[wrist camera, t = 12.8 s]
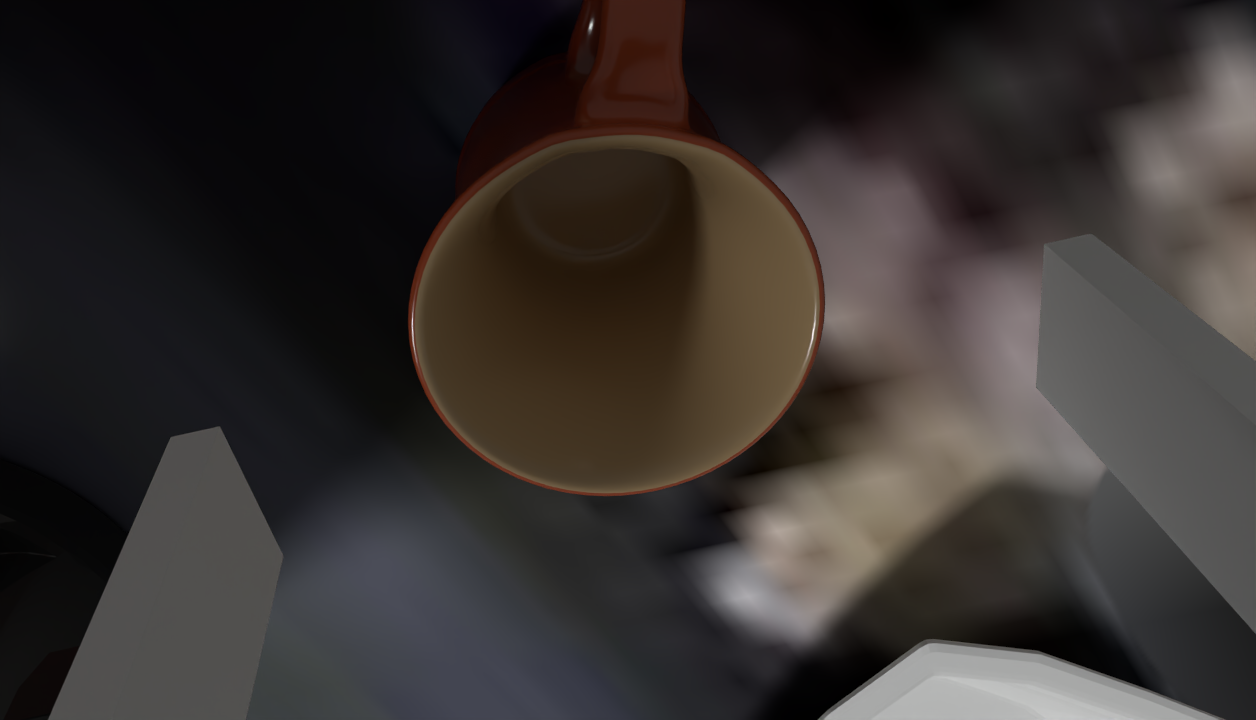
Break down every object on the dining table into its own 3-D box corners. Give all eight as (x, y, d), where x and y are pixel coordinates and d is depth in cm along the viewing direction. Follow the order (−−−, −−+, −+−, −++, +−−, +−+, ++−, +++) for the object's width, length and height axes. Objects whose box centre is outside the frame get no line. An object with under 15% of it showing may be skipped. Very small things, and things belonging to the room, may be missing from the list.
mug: (711, 300, 32) (787, 500, 24) (437, 289, 31) (410, 496, 22) (773, -104, 26) (905, -36, 18) (437, -136, 25) (400, -80, 16)
